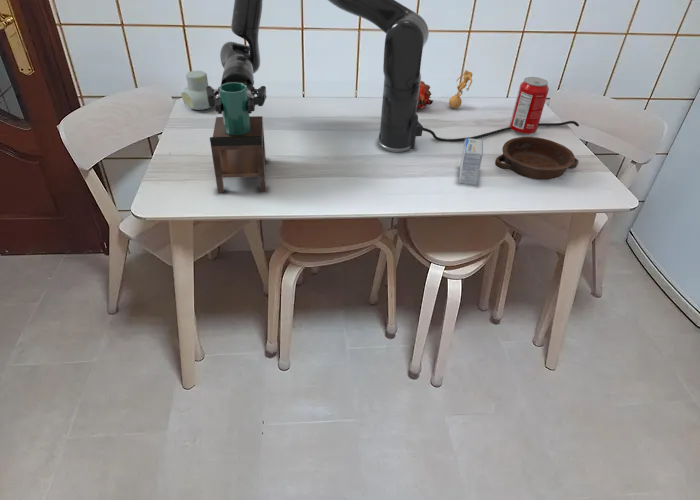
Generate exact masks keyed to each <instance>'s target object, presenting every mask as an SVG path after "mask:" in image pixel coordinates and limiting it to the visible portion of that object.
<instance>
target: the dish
mask: <svg viewBox="0 0 700 500" xmlns="http://www.w3.org/2000/svg"><path fill="white" fill-rule="evenodd" d="M501 151H502V154H500V155H498V156H497V157H496V158H495V160H494V165H495V166H496V167H497V168H499V169H500V170H507V171H508V170H509V171H511V172H513V173H515V174H517V175H518V176H521V177H524V178H527V179H531V180H539V181H549V180H554V179H555V180H556V179H557V178H560V177H562V176H563V175H564V174H565V173H566V172H567V170H571V169H575V168H577V166H578V165H579V160H578V158H577V157H575V155H574V153H573V151H572V150H571V149H570V148H568V147H566V146H565V145H564V144H561V143H559V142H555V141H554V140H551V139H547V138H543V137H538V136H536V137H535V136H518V137H513V138H511V139H508V140H507V141H506V142H504V144H503V145H502V148H501Z"/></svg>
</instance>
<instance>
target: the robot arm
mask: <svg viewBox="0 0 700 500" xmlns="http://www.w3.org/2000/svg"><path fill="white" fill-rule="evenodd" d="M263 1H264V0H234V2H233V9H232V18H231V24H230V25H231V26H230V29H231V32H232V34H234V35H236V36H237V37H239V38H240V39H243V40H245V42H247V44H248V45H247V44H243V43H240V42H235V41H228V42H227V41H226V42H225V43H224V44H223V45H222V46H221V49H220V54H219V56H220V63H221V66H222V68H223V71H222V77H221V83H220V86H221V85H223V84H225V83H231V82H237V83H242V84H245V85H246V86H247V94H248V113H249V114H253V113H252V112H255V111H256V106H258V107H263V106H264V104H265V101H266V99H267V87H266V86H265V85H260V87H258V88H255V86H254V85H255V80H254V78H255V77H254V74H256V73H257V72H258V70H259V69H260V66H261V53H260V52H261V51H260V46H259V45H260V43H259V32H260V26H261V19H262V14H263V13H262V12H263ZM327 1H328V2H329V3H331V4H332V5H333V6H335V7H336V8H338V9H340V10H342V11H344V12H346V13H349V14H351V15H354V16H356V17H359V18H362V19H364V20H366V21H369V22H370V23H372V24H373V25H375V26H376V27H377V28H379V29H380V30H381V31H382V32H383V33H384V34H385V38H384V47H383V49H384V50H383V64H382V69H383V71H382V72H383V76H384V78H383V91H382V101H381V115H380V124H379V125H380V126H379V135H378V146H379V147H380V148H381V149H382V150H385V151H388V152H392V153H404V152H407V151H410V150H415V144H416V137H422V136H423V132H426V133H428V134H430V135H431V136H432V137H433V139H434V140H436V141H438V142H447V143H448V142H449V143H455V142H465V139H466V138H470V139H478V140H479V139H481V138H485V137H488V136H492V135H496V134H499V133H502V132H506V131H510V130H511V131H512V129H511V127H510V126H509V127H504V128H500V129H497V130H494V131H489V132H486V133H481V134H479V135H474V136H469V137H460V138H459V137H458V138H442V137H439V136H437V134H436V133H435V132H434V131H433V130H431V129H430V128H426V127H424V126H423V125H422V124H421V122H420V121H419V115H418V113H417V112H418V108H417V105H418V97H419V89H420V82H421V81H422V74H421V66H422V57H423V50H424V47H425V45H426V43H427V42H428V39H429V34H430V33H429V32H430V31H429V26H428V24H427V22H426V20H425V19H424V18H423V17H422V16H421V15H420V14H418V13H417V12H415V11H414V10H412V9H411V8H408V7H407V6H405V5H403V4H402V3H400V2H398V1H397V0H327ZM220 86H218V88H213V87H212V86H210V85H208V86H207V87H206V91H207V98H208V104H209V106H210V108H212V107H213V108H214V111H215V112H216V113H217V114H218V115H221V114H222V115H223V113H222V105H221V98H220V90H219V88H220ZM211 87H212V88H211ZM566 125H574V126H576V127H580V124H579V123H578V122H577V121H575V120H568V121H563V122H553V123H552V122H551V123H550V122H539V125H538V127H561V126H566Z"/></svg>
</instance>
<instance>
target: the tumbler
mask: <svg viewBox="0 0 700 500" xmlns="http://www.w3.org/2000/svg"><path fill="white" fill-rule="evenodd" d="M219 87H220V88H219ZM219 87H218V88H219V90H220V98H221V105H222V117H223V121H224V129H225V132H226V133H227V134H230V135H236V136H237V135H244V134H247V133H248V132H250V130H251V129H250V113H248V94H247V86H246V85H245V84H242V83H237V82H231V83H225V84H223V85H221V84H220V86H219Z"/></svg>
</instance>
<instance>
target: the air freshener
mask: <svg viewBox="0 0 700 500" xmlns="http://www.w3.org/2000/svg"><path fill="white" fill-rule="evenodd" d="M185 77H186V84H187V87H185V88H184V89H183V90H182V92H181V99H182V102H183V103H184V105H185V106H186V107H188V108H189V109H192V110H193V111H194V110H195V111H202V110H203V111H204V110H208V109H210V108H211V107H210V106H209V104H208V98H207V91H206V87H207V86H209V81H208V74H207V73H206V72H205V71H203V70H191V71H188V72H187V73H186V74H185ZM211 88H213V87H212V86H211Z"/></svg>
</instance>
